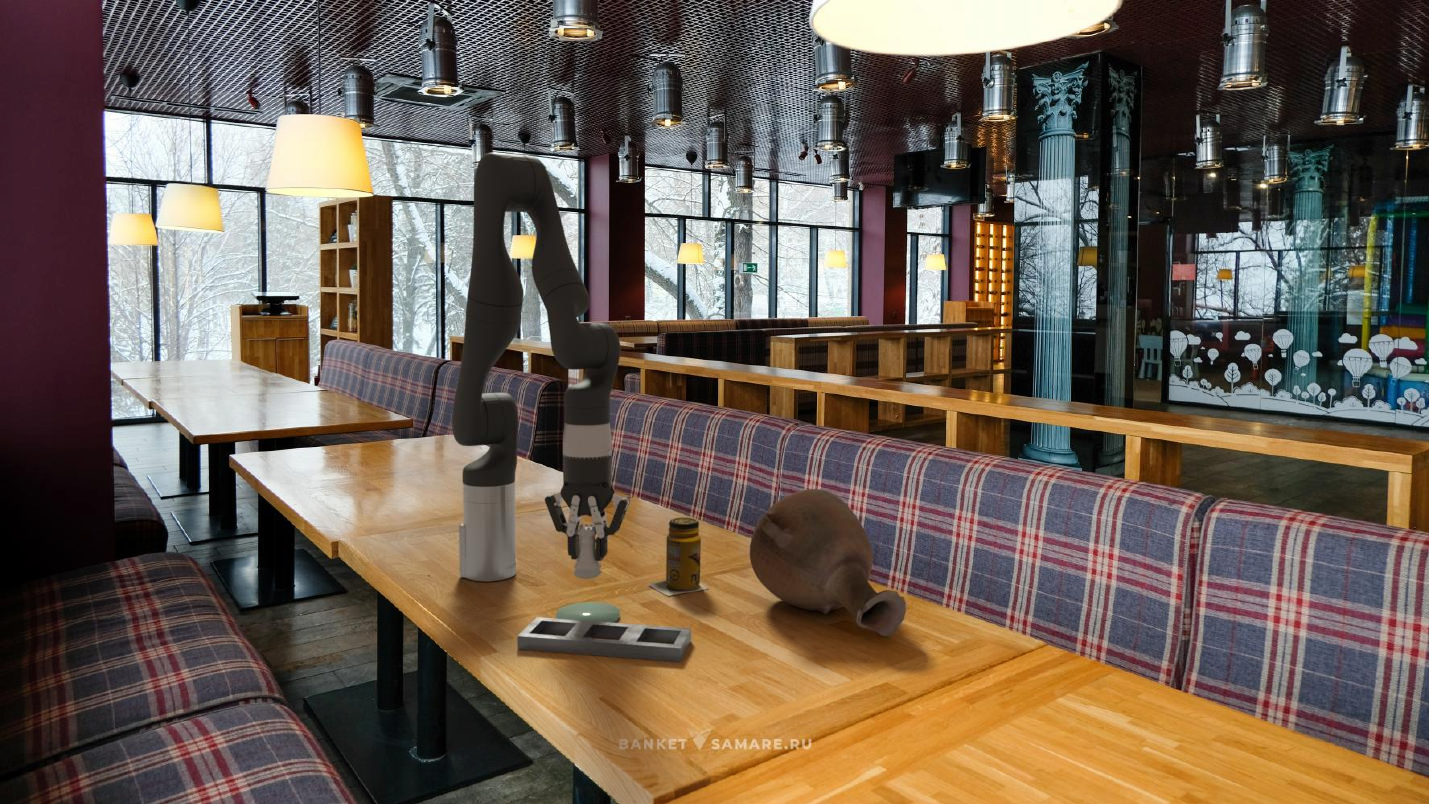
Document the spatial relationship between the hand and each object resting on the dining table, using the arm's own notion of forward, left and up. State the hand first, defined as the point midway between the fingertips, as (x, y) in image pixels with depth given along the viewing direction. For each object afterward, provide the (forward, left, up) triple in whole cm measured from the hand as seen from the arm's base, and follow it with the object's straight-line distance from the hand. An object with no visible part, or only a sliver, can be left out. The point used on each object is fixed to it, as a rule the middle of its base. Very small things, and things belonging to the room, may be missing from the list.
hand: (587, 558), depth 147 cm
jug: (+38, +9, -10) cm, 40 cm away
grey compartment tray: (+6, -11, -10) cm, 16 cm away
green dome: (0, 0, -10) cm, 10 cm away
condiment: (+11, +18, -10) cm, 23 cm away
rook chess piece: (0, 0, -3) cm, 3 cm away
